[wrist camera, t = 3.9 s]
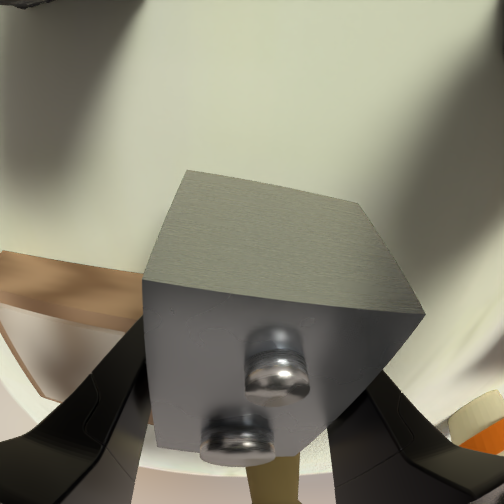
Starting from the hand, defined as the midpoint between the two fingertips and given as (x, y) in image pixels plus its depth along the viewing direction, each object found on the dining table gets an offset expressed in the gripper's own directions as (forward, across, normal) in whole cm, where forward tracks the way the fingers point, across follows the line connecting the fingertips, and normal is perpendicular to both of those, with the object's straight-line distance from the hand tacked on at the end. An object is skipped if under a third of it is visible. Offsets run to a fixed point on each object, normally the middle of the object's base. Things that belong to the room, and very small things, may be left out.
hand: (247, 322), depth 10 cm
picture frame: (+5, +9, +9) cm, 14 cm away
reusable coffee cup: (+5, -37, +23) cm, 44 cm away
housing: (+1, 0, 0) cm, 1 cm away
